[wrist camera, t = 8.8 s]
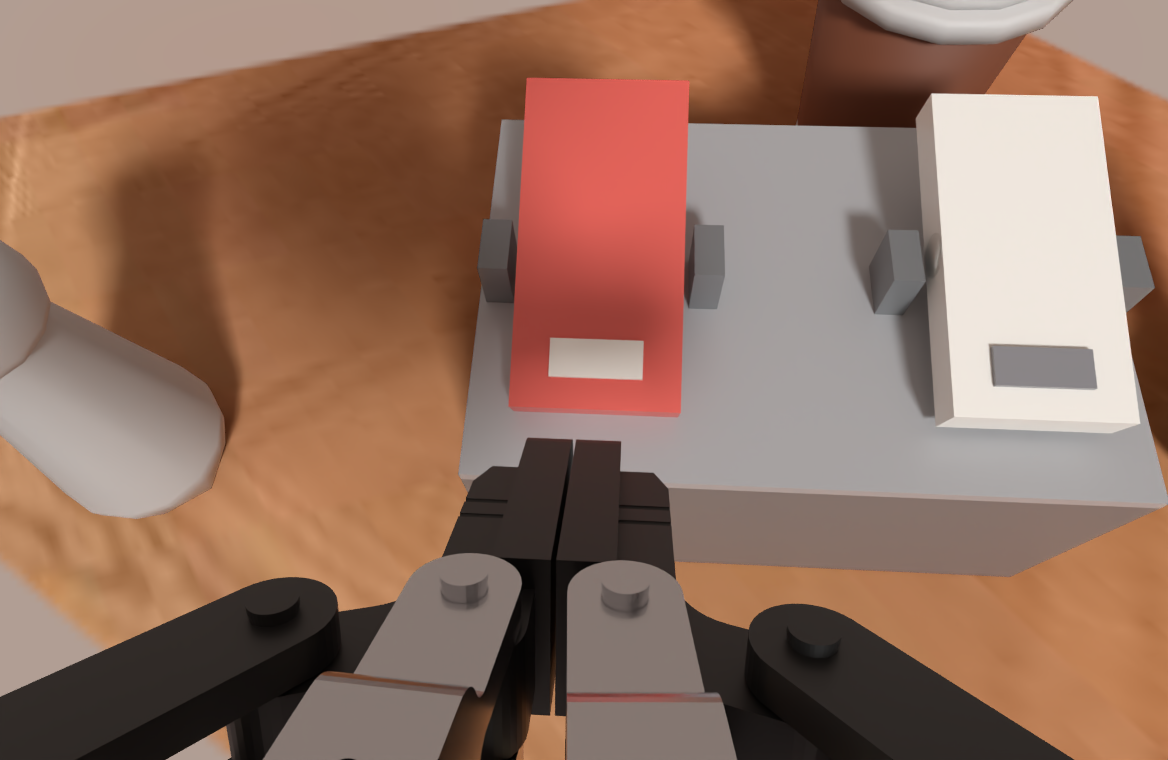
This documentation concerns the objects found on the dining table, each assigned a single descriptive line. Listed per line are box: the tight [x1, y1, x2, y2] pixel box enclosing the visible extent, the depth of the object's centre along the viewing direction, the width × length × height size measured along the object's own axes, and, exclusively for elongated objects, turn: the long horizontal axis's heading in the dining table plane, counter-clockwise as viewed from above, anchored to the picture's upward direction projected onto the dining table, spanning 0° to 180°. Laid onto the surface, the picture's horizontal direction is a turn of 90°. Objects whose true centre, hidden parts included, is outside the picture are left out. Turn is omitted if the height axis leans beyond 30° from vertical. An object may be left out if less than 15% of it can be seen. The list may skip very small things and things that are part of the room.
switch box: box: [458, 120, 1168, 577], centre depth 27 cm, size 18×12×11 cm, turn 87°
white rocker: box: [916, 93, 1140, 433], centre depth 21 cm, size 4×9×1 cm, turn 177°
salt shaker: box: [0, 240, 226, 519], centre depth 26 cm, size 6×6×13 cm
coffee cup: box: [796, 0, 1073, 128], centre depth 32 cm, size 9×9×12 cm
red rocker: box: [508, 78, 689, 417], centre depth 22 cm, size 4×9×1 cm, turn 177°
